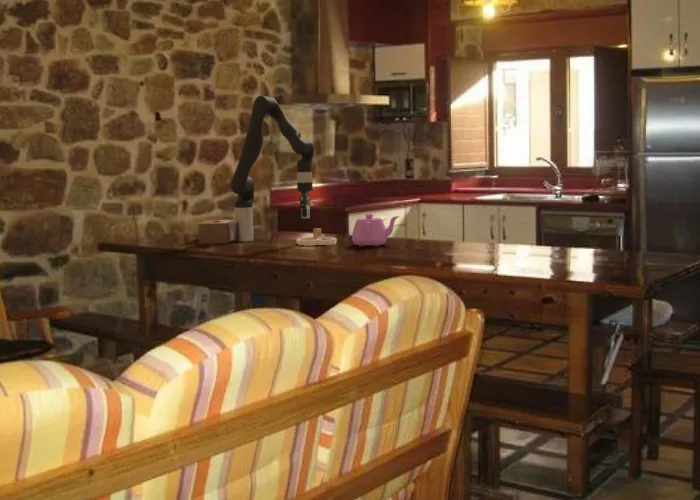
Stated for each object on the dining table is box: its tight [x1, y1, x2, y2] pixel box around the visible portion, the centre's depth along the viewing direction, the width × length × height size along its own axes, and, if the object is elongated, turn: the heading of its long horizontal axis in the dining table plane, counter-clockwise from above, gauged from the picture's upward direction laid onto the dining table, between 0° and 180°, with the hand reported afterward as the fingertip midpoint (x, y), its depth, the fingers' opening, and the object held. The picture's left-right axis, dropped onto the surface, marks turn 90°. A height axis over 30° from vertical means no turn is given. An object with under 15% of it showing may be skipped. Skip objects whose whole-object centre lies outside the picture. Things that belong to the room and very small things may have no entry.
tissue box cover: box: [197, 219, 235, 244], centre depth 484 cm, size 26×14×10 cm, turn 179°
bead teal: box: [300, 205, 311, 219], centre depth 458 cm, size 4×4×6 cm
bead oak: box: [312, 227, 322, 238], centre depth 464 cm, size 4×4×6 cm
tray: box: [296, 236, 338, 247], centre depth 459 cm, size 19×19×2 cm
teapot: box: [351, 213, 400, 247], centre depth 445 cm, size 23×21×15 cm
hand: (305, 216), depth 458 cm, fingers closed on bead teal, 4 cm apart
